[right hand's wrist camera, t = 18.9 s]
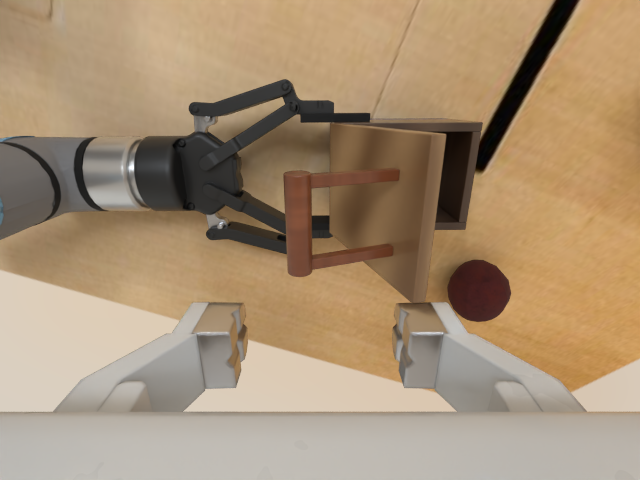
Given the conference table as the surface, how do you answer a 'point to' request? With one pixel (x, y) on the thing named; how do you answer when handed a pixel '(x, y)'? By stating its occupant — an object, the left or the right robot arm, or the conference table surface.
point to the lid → (372, 204)
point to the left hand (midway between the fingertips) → (365, 172)
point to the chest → (447, 163)
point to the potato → (478, 291)
